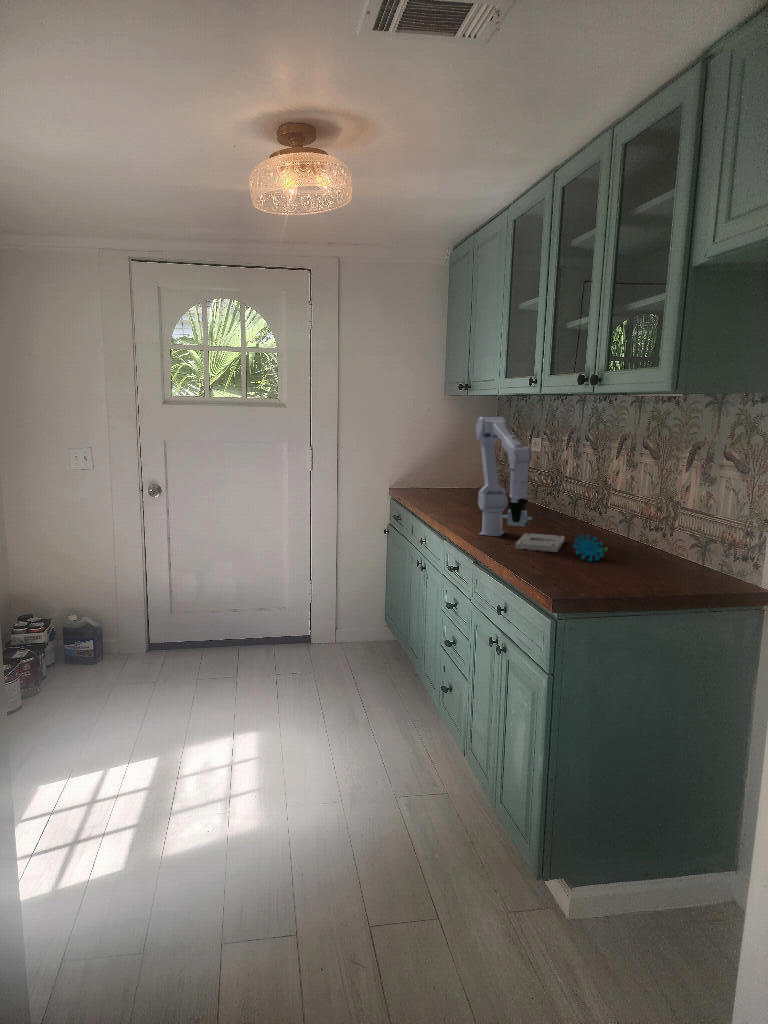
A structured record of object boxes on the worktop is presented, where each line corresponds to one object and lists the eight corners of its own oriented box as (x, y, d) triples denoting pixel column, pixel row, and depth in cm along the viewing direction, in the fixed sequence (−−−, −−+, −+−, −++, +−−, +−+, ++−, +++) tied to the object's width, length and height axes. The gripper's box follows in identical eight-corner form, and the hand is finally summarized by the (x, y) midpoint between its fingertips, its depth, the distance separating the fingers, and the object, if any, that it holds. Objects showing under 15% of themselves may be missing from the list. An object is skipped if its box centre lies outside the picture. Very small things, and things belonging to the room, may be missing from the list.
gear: (575, 557, 212) (573, 531, 218) (569, 567, 217) (567, 541, 223) (610, 562, 212) (607, 536, 218) (603, 572, 217) (601, 546, 223)
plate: (524, 538, 250) (525, 532, 249) (564, 541, 245) (564, 535, 244) (515, 548, 231) (515, 542, 231) (557, 552, 226) (557, 545, 226)
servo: (503, 523, 241) (504, 507, 240) (532, 525, 237) (532, 509, 237) (501, 524, 237) (501, 509, 236) (530, 526, 234) (530, 511, 233)
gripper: (526, 484, 227) (525, 524, 229) (533, 480, 240) (532, 518, 242) (505, 483, 229) (504, 523, 232) (514, 479, 243) (512, 517, 245)
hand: (517, 520), depth 237 cm, fingers closed on servo, 4 cm apart
